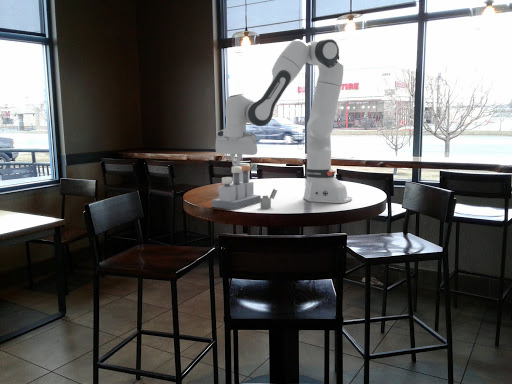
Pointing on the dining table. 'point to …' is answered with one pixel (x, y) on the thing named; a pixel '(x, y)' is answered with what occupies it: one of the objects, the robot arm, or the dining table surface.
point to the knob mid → (236, 174)
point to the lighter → (268, 199)
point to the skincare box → (241, 172)
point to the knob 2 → (245, 172)
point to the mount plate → (236, 196)
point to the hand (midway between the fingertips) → (236, 164)
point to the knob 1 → (226, 181)
